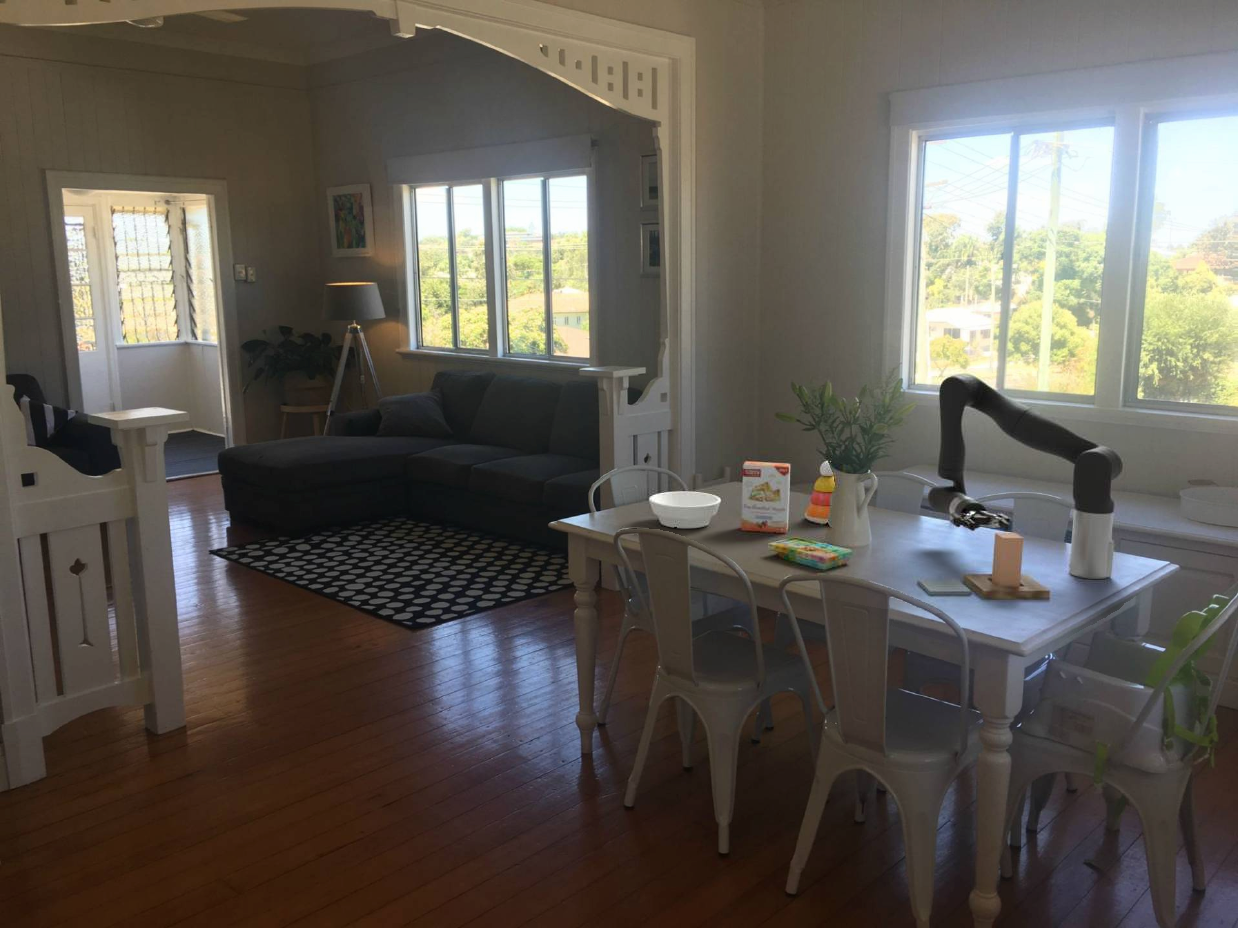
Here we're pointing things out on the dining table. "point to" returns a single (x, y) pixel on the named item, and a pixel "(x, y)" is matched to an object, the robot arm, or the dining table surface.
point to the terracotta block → (1007, 559)
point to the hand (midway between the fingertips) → (990, 527)
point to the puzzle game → (811, 552)
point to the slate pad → (943, 587)
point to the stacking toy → (821, 496)
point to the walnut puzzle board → (1006, 588)
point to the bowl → (684, 508)
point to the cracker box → (765, 497)
